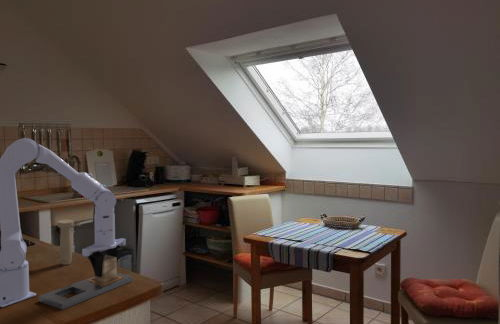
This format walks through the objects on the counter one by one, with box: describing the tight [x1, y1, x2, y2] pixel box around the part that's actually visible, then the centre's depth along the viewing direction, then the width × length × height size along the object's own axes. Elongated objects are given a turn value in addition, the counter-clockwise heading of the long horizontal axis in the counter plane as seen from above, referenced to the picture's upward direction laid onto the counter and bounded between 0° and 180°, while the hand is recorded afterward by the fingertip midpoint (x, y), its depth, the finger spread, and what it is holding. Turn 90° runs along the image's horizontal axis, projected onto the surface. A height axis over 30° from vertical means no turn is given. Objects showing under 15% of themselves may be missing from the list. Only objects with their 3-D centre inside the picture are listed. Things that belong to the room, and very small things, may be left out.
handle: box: [57, 219, 75, 266], centre depth 140 cm, size 5×6×15 cm
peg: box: [93, 254, 118, 284], centre depth 122 cm, size 4×4×8 cm
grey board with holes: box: [38, 272, 133, 311], centre depth 117 cm, size 24×10×2 cm, turn 150°
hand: (105, 273), depth 122 cm, fingers closed on peg, 4 cm apart
